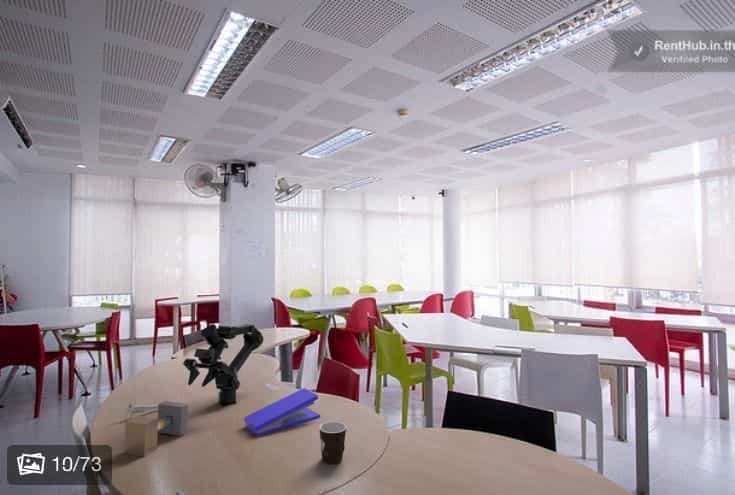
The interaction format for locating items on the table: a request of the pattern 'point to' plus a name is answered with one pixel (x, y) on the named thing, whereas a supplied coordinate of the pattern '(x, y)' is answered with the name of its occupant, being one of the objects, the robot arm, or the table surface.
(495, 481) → the table surface
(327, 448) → the dark brown cup
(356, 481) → the table surface
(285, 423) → the stapler
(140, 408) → the caliper
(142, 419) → the tan rectangular block
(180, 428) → the gray concrete brick
